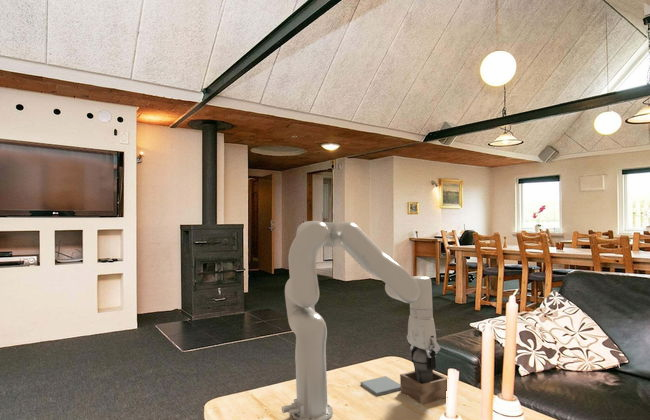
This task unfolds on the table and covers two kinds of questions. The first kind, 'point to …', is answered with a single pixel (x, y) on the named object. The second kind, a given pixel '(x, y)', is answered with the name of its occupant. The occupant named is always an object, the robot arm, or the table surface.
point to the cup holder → (423, 387)
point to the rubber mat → (381, 385)
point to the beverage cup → (422, 366)
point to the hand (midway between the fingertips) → (423, 364)
